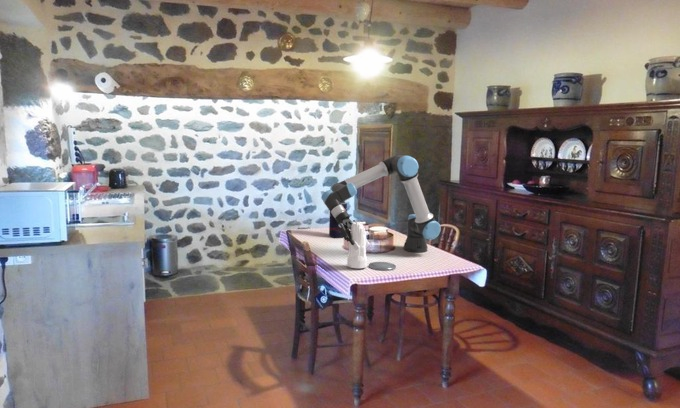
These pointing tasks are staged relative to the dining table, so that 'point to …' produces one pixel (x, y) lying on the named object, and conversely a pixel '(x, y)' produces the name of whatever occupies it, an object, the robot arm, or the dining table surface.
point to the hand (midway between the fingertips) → (363, 247)
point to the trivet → (382, 266)
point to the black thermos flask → (335, 224)
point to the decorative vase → (359, 257)
